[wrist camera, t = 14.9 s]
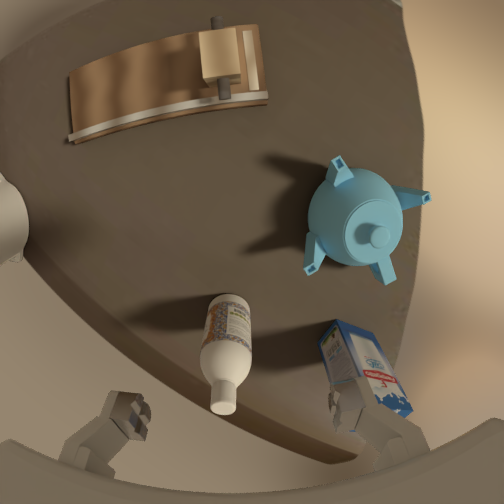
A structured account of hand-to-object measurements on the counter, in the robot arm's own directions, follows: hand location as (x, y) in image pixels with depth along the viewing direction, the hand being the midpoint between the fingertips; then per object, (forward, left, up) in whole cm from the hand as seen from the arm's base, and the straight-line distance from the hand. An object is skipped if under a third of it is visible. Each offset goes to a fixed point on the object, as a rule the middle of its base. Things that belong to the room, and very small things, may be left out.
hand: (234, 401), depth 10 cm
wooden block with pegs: (0, +20, -29) cm, 35 cm away
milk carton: (+17, -27, -31) cm, 45 cm away
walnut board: (-9, +20, -31) cm, 38 cm away
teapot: (+16, -2, -31) cm, 35 cm away
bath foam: (-4, -17, -31) cm, 36 cm away
